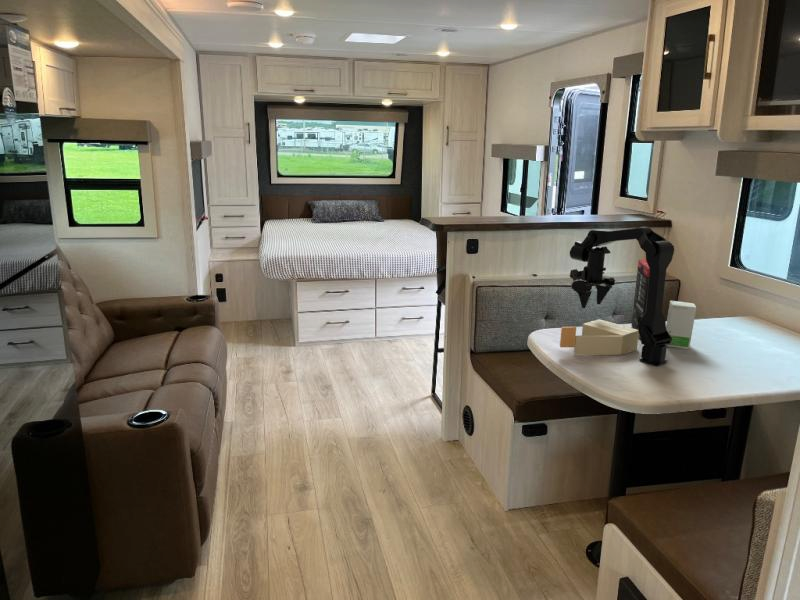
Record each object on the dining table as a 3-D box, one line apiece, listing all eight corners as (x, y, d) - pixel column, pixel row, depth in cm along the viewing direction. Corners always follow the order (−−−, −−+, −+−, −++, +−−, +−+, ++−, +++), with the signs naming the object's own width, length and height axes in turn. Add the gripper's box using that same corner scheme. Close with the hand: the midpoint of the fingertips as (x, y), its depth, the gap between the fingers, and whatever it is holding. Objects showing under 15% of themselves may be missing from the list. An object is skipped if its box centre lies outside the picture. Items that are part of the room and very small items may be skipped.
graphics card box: (658, 342, 215) (669, 268, 208) (639, 340, 217) (648, 267, 209) (647, 328, 232) (656, 259, 225) (629, 326, 233) (637, 258, 226)
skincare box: (664, 346, 211) (670, 304, 207) (663, 341, 217) (668, 300, 213) (690, 349, 208) (697, 307, 204) (688, 343, 214) (694, 302, 210)
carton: (636, 349, 207) (639, 329, 205) (620, 354, 201) (623, 335, 199) (597, 337, 219) (599, 318, 218) (581, 342, 213) (582, 323, 212)
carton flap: (619, 353, 201) (622, 326, 199) (620, 354, 201) (624, 327, 198) (559, 353, 200) (561, 326, 198) (560, 354, 199) (562, 327, 197)
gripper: (591, 258, 224) (587, 297, 228) (560, 263, 212) (557, 305, 217) (617, 262, 215) (613, 304, 219) (587, 268, 204) (582, 312, 208)
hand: (591, 306), depth 216 cm, fingers open, 9 cm apart
